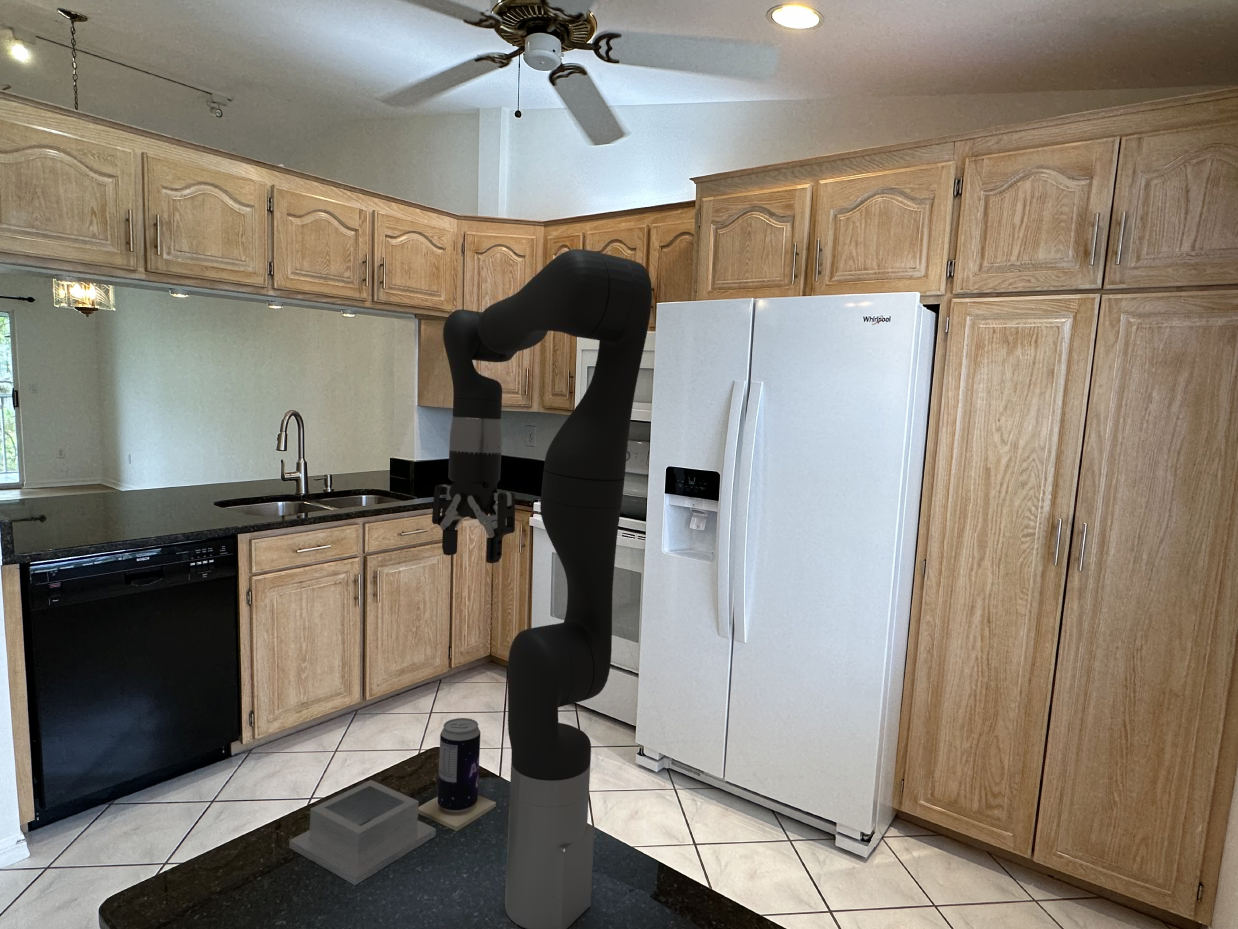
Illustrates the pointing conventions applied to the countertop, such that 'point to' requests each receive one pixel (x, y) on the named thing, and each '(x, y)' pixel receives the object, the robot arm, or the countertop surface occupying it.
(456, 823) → the birch pad
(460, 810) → the beverage can
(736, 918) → the countertop surface
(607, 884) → the countertop surface
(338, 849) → the sleeve
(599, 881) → the countertop surface
